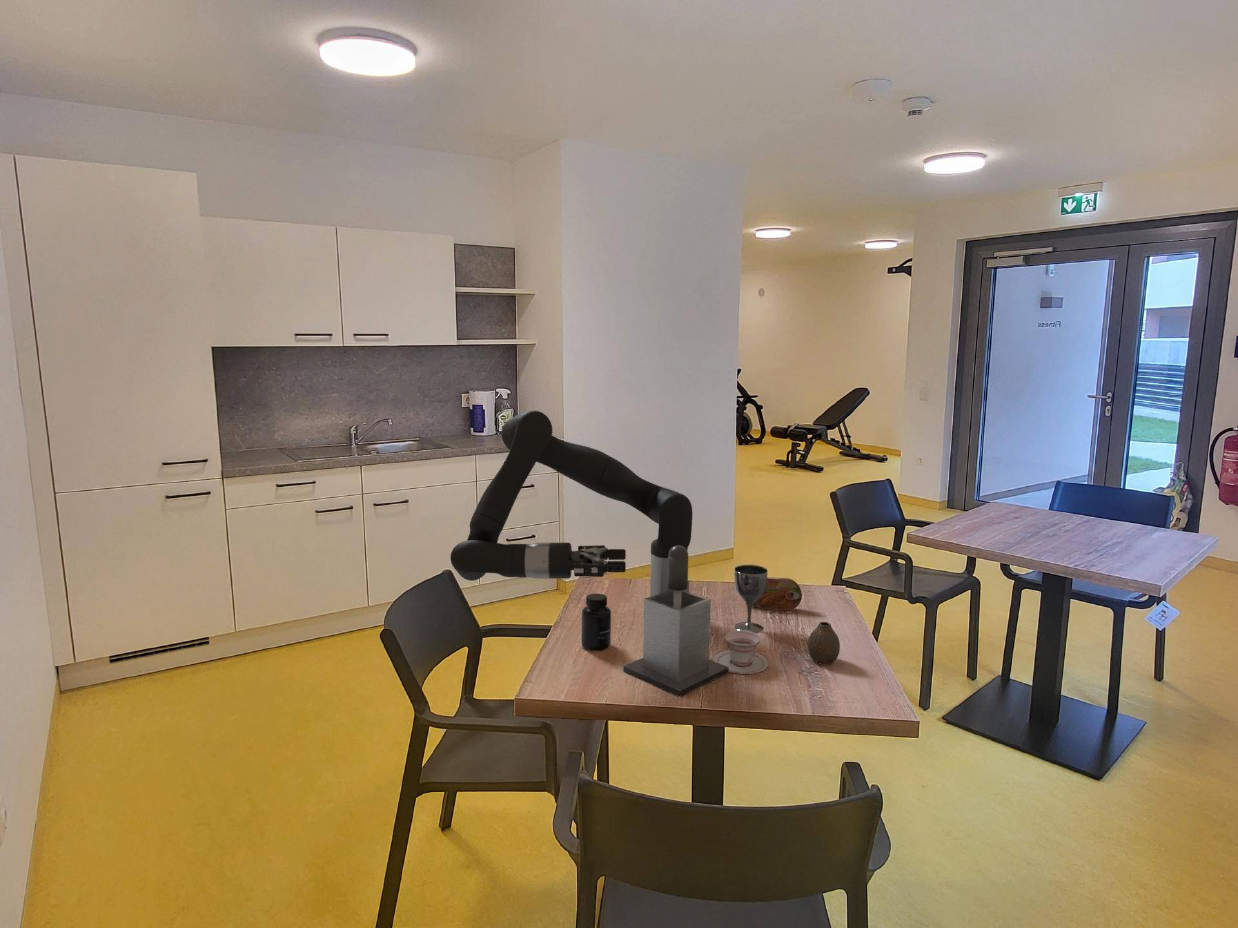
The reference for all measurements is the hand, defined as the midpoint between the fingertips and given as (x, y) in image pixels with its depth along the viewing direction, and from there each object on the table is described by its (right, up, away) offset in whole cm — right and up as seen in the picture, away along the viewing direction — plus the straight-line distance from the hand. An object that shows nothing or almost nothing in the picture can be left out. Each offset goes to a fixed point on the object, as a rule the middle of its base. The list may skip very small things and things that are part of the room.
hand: (625, 560), depth 158 cm
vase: (+44, -24, +10) cm, 51 cm away
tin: (+39, -18, +43) cm, 61 cm away
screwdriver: (+11, -21, +4) cm, 24 cm away
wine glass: (+31, -21, +29) cm, 47 cm away
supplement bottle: (-7, -22, +18) cm, 29 cm away
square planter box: (+11, -25, +4) cm, 27 cm away
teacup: (+26, -24, +9) cm, 36 cm away
